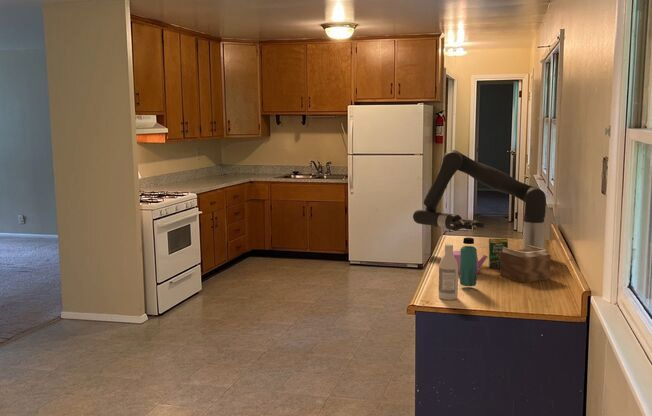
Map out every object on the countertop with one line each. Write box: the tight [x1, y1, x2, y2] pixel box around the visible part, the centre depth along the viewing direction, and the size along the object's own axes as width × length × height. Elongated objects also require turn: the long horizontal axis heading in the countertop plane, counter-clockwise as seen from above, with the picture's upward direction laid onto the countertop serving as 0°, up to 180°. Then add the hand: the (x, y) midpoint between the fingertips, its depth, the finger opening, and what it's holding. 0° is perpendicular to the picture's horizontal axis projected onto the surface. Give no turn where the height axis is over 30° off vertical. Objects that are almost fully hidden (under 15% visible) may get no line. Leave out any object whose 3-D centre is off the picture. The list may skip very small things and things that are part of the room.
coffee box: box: [488, 238, 509, 269], centre depth 282 cm, size 8×3×13 cm, turn 82°
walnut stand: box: [499, 245, 552, 284], centre depth 265 cm, size 14×14×12 cm
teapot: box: [453, 250, 489, 276], centre depth 274 cm, size 18×10×10 cm, turn 80°
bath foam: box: [438, 243, 459, 301], centre depth 234 cm, size 7×7×20 cm
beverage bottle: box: [459, 236, 478, 287], centre depth 248 cm, size 6×7×20 cm
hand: (477, 226), depth 289 cm, fingers open, 8 cm apart
